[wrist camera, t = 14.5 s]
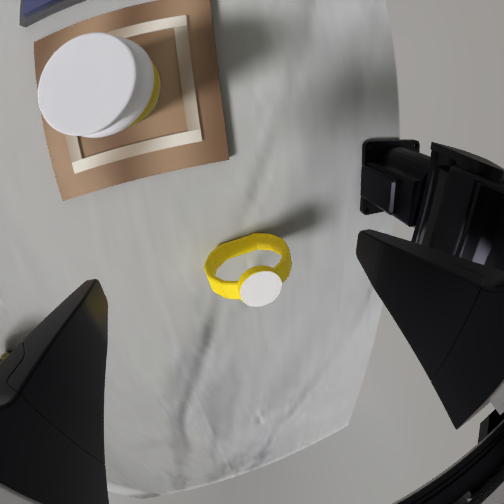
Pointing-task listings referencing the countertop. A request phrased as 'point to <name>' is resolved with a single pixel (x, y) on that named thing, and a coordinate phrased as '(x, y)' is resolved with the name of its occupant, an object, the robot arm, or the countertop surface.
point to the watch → (250, 270)
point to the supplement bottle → (98, 86)
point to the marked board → (166, 111)
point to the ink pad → (41, 9)
